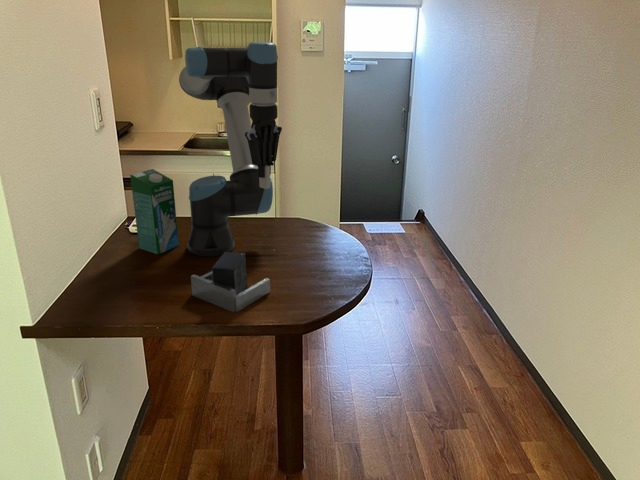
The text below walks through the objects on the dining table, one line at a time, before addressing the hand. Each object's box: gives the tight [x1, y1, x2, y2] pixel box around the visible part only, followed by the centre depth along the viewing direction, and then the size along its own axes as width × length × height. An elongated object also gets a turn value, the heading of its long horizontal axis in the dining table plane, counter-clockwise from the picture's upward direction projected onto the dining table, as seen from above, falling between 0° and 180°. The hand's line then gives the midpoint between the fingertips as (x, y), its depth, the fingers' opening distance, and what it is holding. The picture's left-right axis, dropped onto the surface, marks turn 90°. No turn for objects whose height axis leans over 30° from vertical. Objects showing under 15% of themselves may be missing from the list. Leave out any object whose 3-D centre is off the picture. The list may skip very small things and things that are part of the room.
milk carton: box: [129, 168, 180, 255], centre depth 170 cm, size 9×9×25 cm
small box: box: [211, 251, 248, 295], centre depth 144 cm, size 11×6×10 cm, turn 171°
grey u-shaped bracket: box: [190, 270, 271, 313], centre depth 145 cm, size 16×14×6 cm
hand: (264, 187), depth 151 cm, fingers closed
